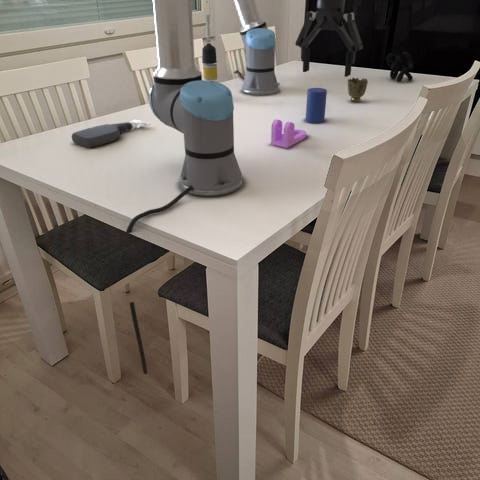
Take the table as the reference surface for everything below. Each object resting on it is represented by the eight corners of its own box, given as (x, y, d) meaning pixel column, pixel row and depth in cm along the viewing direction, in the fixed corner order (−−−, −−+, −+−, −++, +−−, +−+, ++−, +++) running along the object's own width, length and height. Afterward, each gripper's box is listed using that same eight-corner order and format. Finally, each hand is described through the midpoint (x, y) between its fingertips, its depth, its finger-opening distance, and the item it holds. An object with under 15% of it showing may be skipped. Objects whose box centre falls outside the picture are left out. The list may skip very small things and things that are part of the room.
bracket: (287, 148, 130) (288, 124, 126) (271, 144, 133) (271, 121, 129) (309, 135, 139) (310, 113, 135) (293, 132, 142) (294, 110, 138)
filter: (220, 99, 177) (217, 15, 161) (206, 100, 176) (202, 16, 160) (215, 96, 182) (212, 14, 166) (202, 97, 180) (197, 14, 164)
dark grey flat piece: (70, 142, 137) (133, 123, 153) (90, 149, 131) (154, 129, 147) (68, 132, 136) (131, 115, 152) (89, 139, 130) (153, 120, 146)
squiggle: (400, 92, 202) (376, 71, 205) (417, 76, 202) (392, 56, 205) (405, 81, 191) (380, 59, 194) (423, 64, 191) (397, 42, 194)
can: (327, 122, 151) (330, 91, 145) (310, 124, 149) (312, 93, 144) (319, 117, 156) (321, 87, 150) (302, 118, 154) (304, 88, 149)
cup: (343, 102, 170) (345, 80, 166) (348, 97, 176) (350, 76, 172) (362, 104, 167) (365, 82, 163) (367, 99, 173) (370, 78, 169)
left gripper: (380, -9, 118) (370, 74, 130) (297, -9, 131) (295, 67, 142) (370, -6, 113) (361, 80, 125) (285, -7, 126) (283, 71, 137)
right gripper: (324, -45, 168) (320, 18, 179) (379, -46, 176) (371, 14, 187) (314, -44, 174) (310, 16, 185) (367, -45, 182) (361, 13, 193)
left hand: (326, 73), depth 134 cm, fingers open, 13 cm apart
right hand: (341, 15), depth 186 cm, fingers open, 13 cm apart
